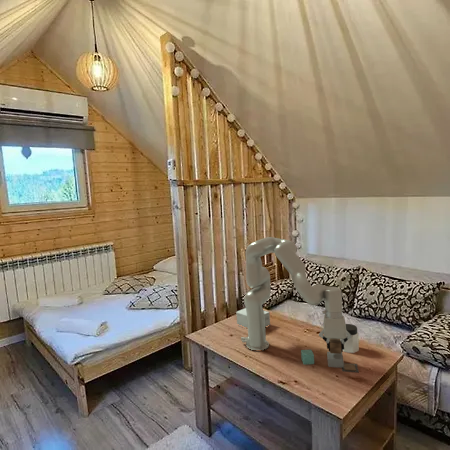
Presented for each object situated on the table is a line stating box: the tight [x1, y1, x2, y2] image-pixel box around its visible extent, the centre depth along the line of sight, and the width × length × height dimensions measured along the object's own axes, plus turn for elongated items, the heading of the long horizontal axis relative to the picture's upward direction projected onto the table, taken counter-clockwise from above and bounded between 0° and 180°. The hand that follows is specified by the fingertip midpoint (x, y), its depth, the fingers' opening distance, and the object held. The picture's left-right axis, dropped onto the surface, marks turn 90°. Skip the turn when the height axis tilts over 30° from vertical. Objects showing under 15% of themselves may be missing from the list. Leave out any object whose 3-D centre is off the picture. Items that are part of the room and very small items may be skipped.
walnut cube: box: [329, 338, 343, 354], centre depth 156 cm, size 5×5×5 cm
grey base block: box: [326, 351, 345, 368], centre depth 157 cm, size 7×7×4 cm
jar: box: [340, 323, 360, 354], centre depth 169 cm, size 9×8×12 cm
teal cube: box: [300, 349, 315, 365], centre depth 160 cm, size 5×5×5 cm
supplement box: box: [235, 307, 271, 328], centre depth 206 cm, size 17×13×9 cm
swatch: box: [341, 362, 360, 373], centre depth 152 cm, size 7×7×1 cm
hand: (335, 350), depth 156 cm, fingers closed on walnut cube, 5 cm apart
